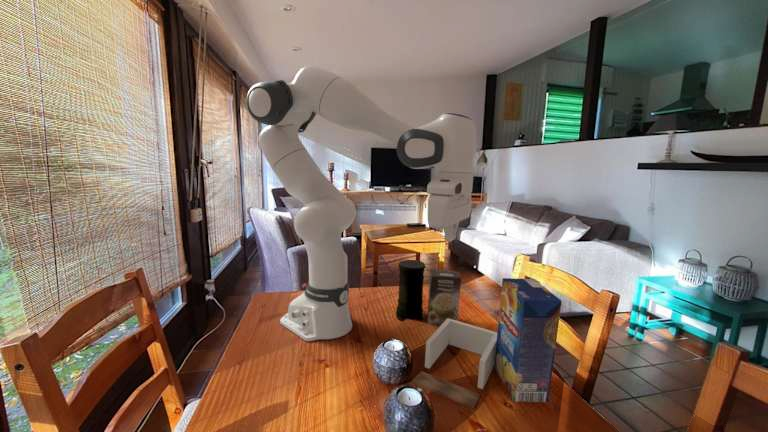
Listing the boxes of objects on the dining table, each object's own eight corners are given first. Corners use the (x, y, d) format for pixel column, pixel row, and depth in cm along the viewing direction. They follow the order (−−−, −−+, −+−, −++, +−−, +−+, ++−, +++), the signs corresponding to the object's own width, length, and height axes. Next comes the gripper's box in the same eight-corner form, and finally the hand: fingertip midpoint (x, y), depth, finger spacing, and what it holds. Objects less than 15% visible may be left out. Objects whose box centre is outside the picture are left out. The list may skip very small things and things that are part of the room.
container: (408, 307, 115) (410, 257, 111) (429, 317, 108) (432, 264, 105) (389, 315, 108) (391, 262, 105) (410, 326, 102) (413, 270, 99)
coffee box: (427, 325, 103) (430, 275, 100) (427, 315, 109) (429, 268, 106) (457, 327, 102) (461, 277, 99) (455, 317, 108) (458, 270, 105)
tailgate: (424, 372, 81) (411, 384, 75) (424, 368, 81) (412, 379, 75) (482, 394, 73) (473, 410, 68) (482, 390, 73) (473, 405, 68)
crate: (424, 371, 81) (426, 341, 79) (445, 344, 93) (447, 318, 91) (482, 394, 74) (485, 361, 72) (497, 362, 85) (500, 333, 84)
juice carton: (547, 407, 70) (561, 301, 66) (512, 407, 70) (524, 300, 66) (523, 371, 82) (534, 278, 78) (493, 370, 82) (502, 278, 78)
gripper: (455, 181, 90) (452, 231, 92) (423, 186, 73) (420, 247, 75) (479, 182, 87) (475, 234, 89) (451, 188, 70) (447, 252, 72)
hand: (449, 240), depth 82 cm, fingers closed
